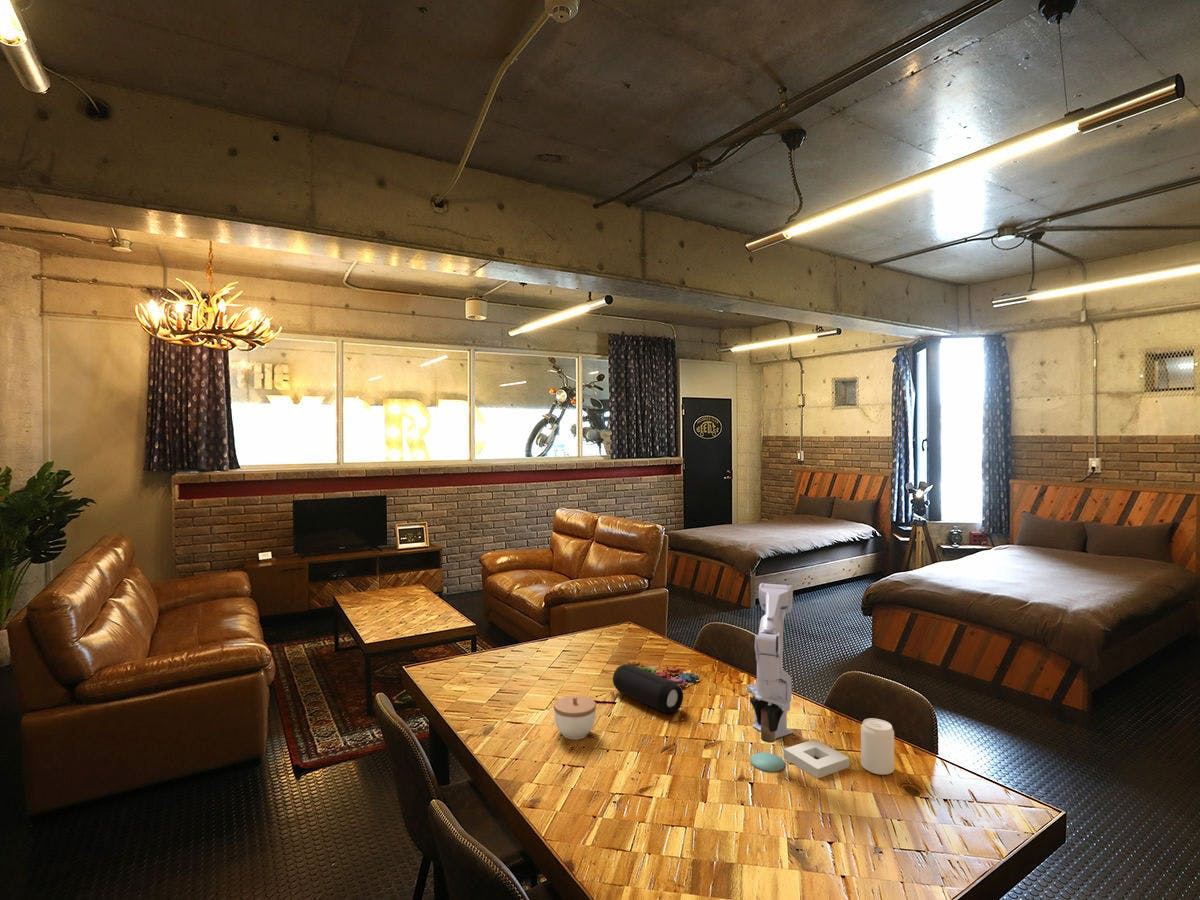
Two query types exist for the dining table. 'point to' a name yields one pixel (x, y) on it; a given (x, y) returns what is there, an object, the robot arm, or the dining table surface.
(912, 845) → the dining table surface
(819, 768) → the block
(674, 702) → the portable speaker
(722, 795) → the dining table surface
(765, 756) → the teal pad
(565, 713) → the lidded bowl
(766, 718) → the walnut dowel
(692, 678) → the gear puzzle
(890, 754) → the beverage can
